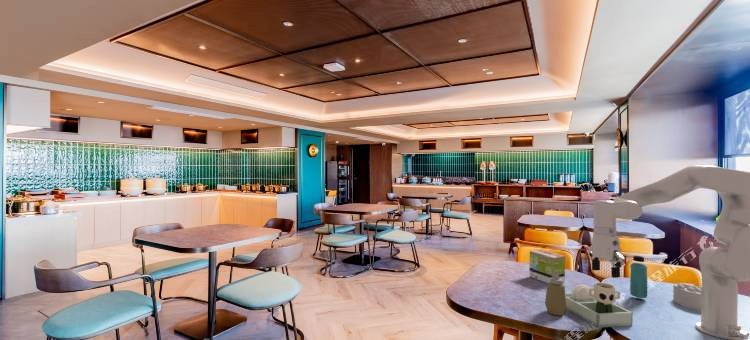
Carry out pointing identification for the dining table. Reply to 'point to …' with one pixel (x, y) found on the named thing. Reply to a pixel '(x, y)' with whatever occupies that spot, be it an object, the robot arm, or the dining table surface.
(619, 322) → the dish rack
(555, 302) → the squeeze bottle
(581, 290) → the racked plates
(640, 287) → the beverage bottle
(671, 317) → the dining table surface
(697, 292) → the lumpy-topped squat cylinder
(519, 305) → the dining table surface
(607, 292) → the character mug
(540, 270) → the tea box
